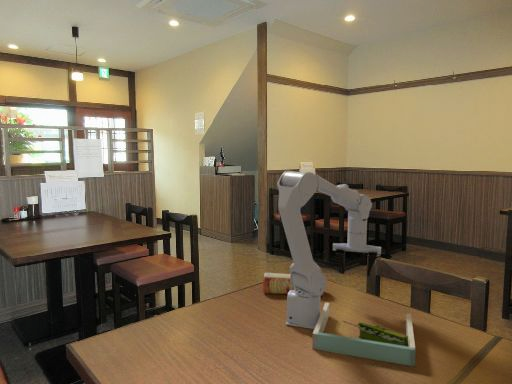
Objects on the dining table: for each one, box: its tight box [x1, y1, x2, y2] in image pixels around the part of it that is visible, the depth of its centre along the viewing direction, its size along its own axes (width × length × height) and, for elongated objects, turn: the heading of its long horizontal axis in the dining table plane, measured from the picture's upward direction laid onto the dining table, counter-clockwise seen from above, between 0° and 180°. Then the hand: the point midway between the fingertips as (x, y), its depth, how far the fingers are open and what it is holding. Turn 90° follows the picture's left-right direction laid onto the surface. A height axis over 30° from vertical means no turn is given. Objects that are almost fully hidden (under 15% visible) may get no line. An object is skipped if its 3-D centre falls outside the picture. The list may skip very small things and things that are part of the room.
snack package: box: [262, 272, 326, 297], centre depth 130 cm, size 21×7×7 cm, turn 83°
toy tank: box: [342, 320, 408, 347], centre depth 98 cm, size 7×19×10 cm
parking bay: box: [311, 302, 416, 367], centre depth 99 cm, size 24×20×4 cm
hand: (355, 274), depth 118 cm, fingers open, 7 cm apart
